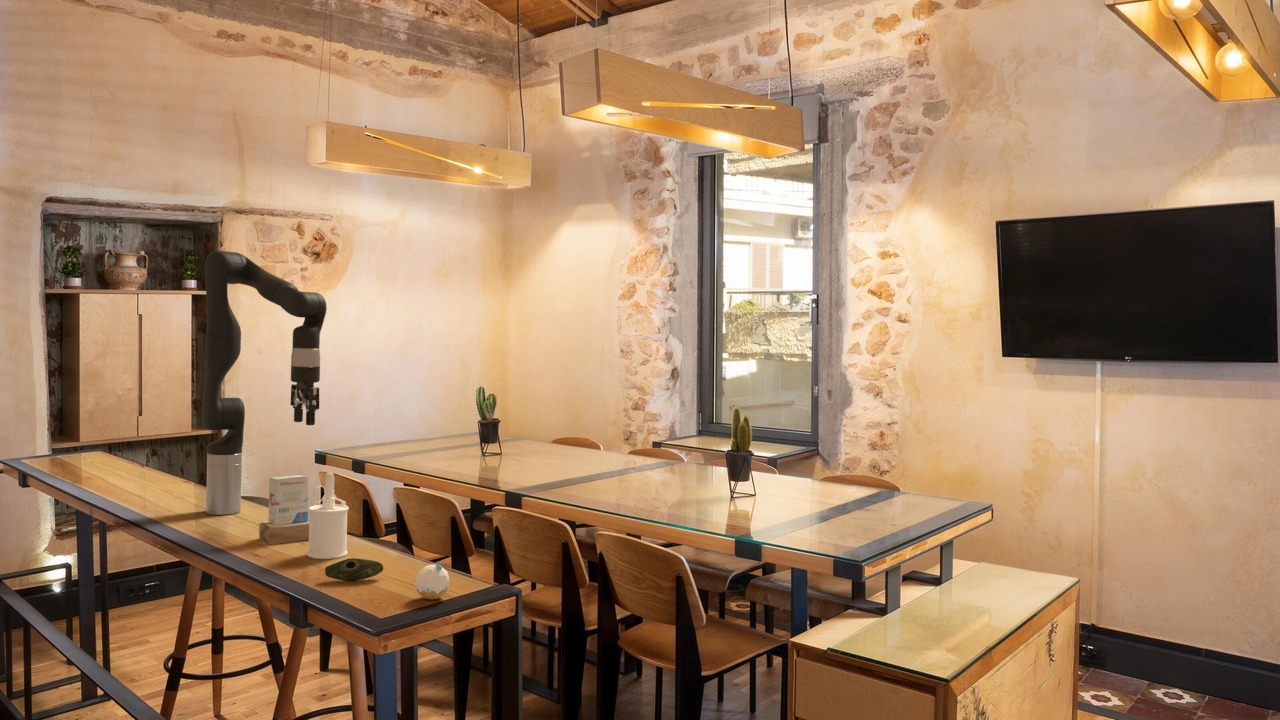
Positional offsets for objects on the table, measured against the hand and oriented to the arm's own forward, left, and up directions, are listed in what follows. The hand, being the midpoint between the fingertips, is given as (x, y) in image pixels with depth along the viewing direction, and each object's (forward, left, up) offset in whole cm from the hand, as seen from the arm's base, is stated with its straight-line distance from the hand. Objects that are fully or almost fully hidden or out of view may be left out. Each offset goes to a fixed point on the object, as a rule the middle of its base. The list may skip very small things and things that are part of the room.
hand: (304, 423), depth 257 cm
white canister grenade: (+35, -7, -28) cm, 46 cm away
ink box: (+14, -9, -24) cm, 29 cm away
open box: (+14, -9, -28) cm, 33 cm away
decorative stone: (+60, -12, -28) cm, 67 cm away
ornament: (+82, -5, -28) cm, 87 cm away
